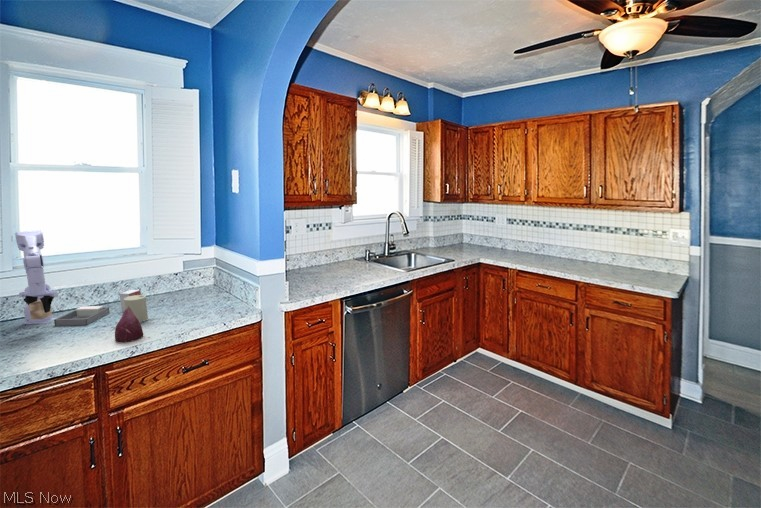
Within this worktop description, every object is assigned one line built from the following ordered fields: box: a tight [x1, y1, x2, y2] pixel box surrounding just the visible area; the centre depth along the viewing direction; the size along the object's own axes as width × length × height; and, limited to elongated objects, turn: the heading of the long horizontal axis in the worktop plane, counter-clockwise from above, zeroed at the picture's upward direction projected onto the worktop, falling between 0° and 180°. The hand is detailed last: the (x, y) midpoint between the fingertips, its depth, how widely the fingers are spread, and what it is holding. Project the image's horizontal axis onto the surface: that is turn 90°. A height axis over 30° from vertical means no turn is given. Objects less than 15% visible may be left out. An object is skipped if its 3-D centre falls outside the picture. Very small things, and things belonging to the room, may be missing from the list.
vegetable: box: [114, 306, 144, 344], centre depth 172 cm, size 10×10×15 cm
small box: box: [119, 289, 142, 313], centre depth 207 cm, size 8×6×10 cm
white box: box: [74, 305, 105, 317], centre depth 198 cm, size 10×5×4 cm, turn 95°
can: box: [124, 294, 149, 323], centre depth 193 cm, size 9×9×12 cm
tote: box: [53, 306, 110, 327], centre depth 193 cm, size 14×18×4 cm
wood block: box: [29, 300, 53, 319], centre depth 177 cm, size 4×6×7 cm
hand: (41, 312), depth 177 cm, fingers closed on wood block, 4 cm apart
